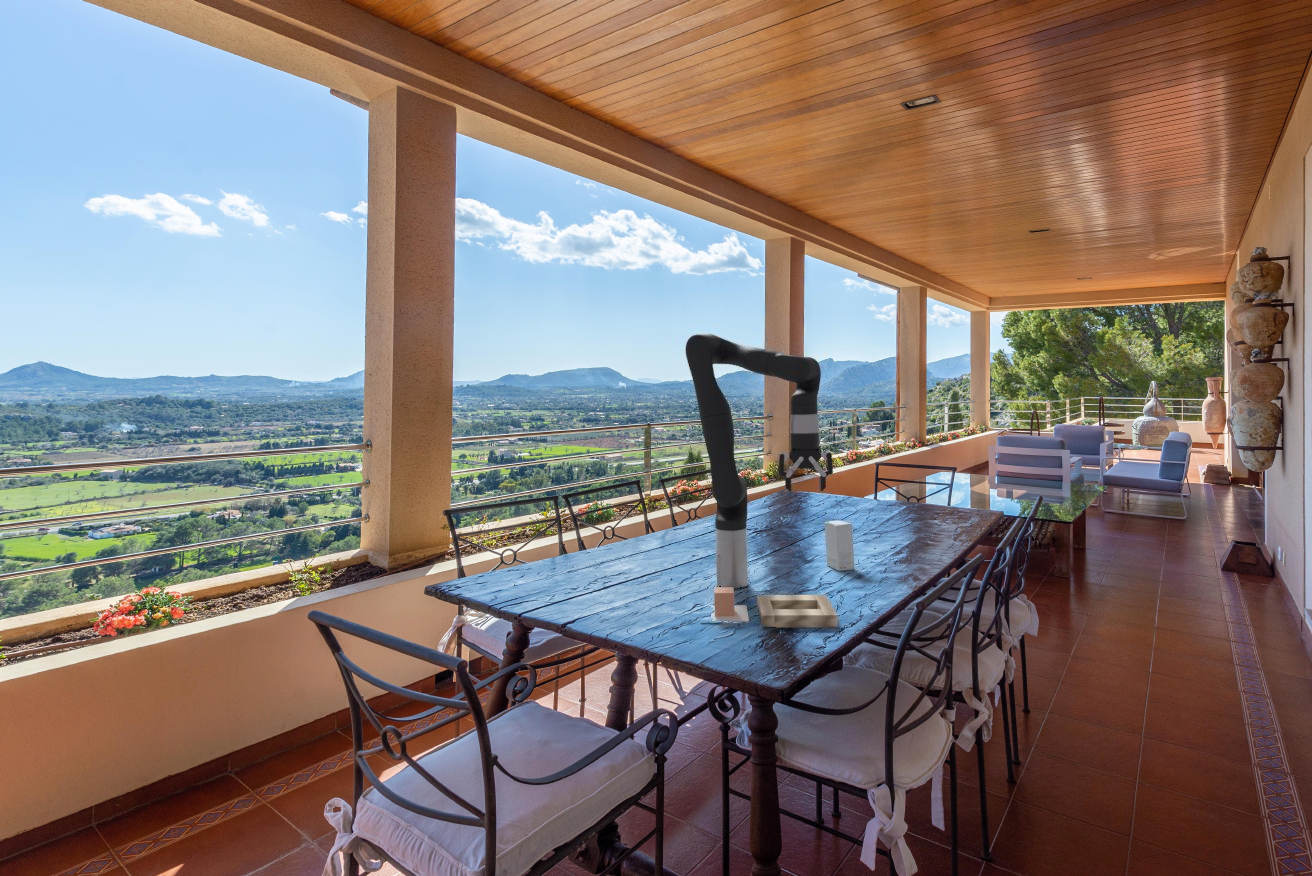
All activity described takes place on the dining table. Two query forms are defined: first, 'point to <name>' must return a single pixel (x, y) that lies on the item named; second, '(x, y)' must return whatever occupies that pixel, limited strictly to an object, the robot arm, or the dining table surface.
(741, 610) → the mat
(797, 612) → the pocket plate
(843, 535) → the skincare box
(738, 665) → the dining table surface
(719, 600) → the block
